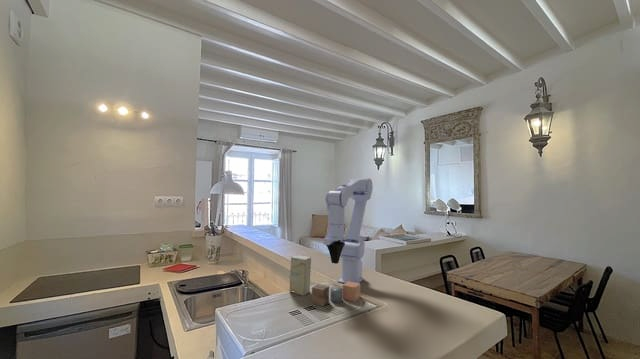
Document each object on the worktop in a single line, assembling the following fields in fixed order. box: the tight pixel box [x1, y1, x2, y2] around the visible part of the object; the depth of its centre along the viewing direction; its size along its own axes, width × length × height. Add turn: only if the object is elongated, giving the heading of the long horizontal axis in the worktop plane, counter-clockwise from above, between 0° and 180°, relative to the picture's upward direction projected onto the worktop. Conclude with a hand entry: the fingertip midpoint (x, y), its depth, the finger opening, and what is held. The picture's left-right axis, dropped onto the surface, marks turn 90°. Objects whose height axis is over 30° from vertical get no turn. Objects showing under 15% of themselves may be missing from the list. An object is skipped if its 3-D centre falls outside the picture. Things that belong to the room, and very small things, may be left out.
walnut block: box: [311, 283, 330, 307], centre depth 80 cm, size 4×4×5 cm
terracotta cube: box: [342, 281, 361, 302], centre depth 84 cm, size 4×4×4 cm
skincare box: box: [288, 254, 312, 296], centre depth 89 cm, size 6×4×12 cm
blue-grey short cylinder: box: [329, 286, 343, 304], centre depth 82 cm, size 4×4×4 cm
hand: (335, 262), depth 88 cm, fingers closed
